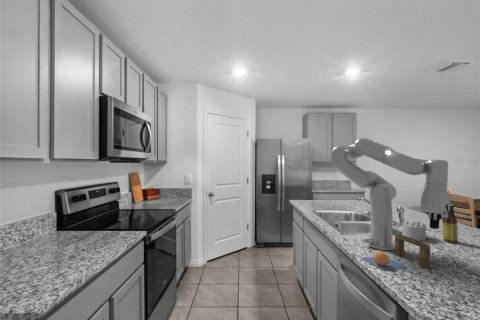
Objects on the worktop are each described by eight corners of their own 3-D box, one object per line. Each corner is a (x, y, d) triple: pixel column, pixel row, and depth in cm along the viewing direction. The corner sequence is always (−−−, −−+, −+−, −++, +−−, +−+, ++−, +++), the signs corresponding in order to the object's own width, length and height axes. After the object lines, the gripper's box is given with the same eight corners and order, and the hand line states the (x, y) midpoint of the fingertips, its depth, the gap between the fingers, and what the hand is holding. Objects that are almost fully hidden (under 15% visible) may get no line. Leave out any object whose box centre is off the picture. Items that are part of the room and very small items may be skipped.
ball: (378, 260, 97) (387, 251, 98) (368, 255, 102) (377, 247, 103) (385, 270, 97) (394, 261, 98) (375, 265, 103) (384, 257, 104)
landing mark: (381, 270, 96) (381, 269, 96) (361, 258, 107) (361, 257, 107) (407, 268, 98) (407, 267, 98) (384, 256, 110) (384, 256, 110)
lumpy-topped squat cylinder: (425, 236, 140) (425, 221, 140) (426, 242, 130) (426, 226, 130) (404, 233, 146) (404, 218, 146) (402, 238, 136) (402, 223, 136)
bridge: (424, 268, 98) (424, 245, 98) (395, 254, 112) (395, 234, 112) (430, 267, 98) (430, 244, 98) (400, 254, 112) (400, 234, 113)
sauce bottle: (452, 239, 133) (451, 203, 133) (461, 243, 127) (461, 205, 127) (439, 239, 134) (439, 203, 134) (447, 243, 127) (447, 205, 128)
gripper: (414, 185, 114) (412, 223, 115) (446, 189, 100) (444, 233, 100) (427, 185, 116) (425, 223, 116) (461, 189, 101) (458, 233, 101)
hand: (434, 228), depth 108 cm, fingers closed
